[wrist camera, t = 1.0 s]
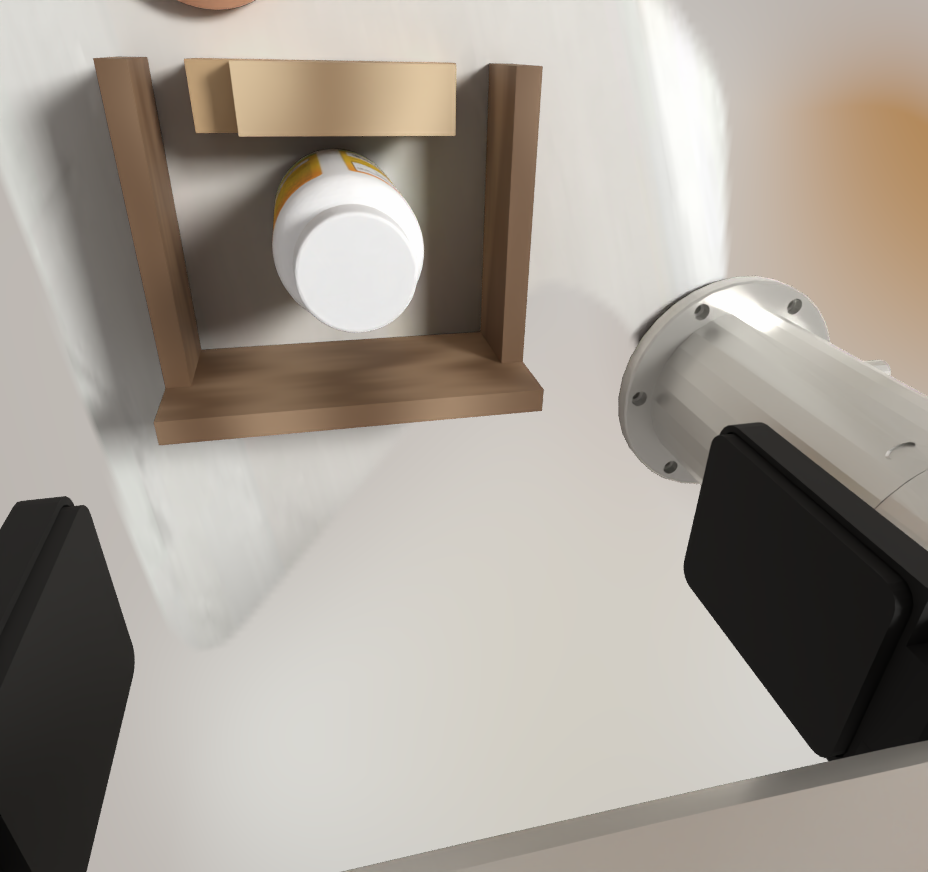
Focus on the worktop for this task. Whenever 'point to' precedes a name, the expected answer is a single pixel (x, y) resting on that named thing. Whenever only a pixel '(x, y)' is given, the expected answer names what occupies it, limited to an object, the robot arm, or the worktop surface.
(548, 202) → the worktop surface
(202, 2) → the terracotta coaster
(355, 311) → the supplement bottle
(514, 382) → the frame
